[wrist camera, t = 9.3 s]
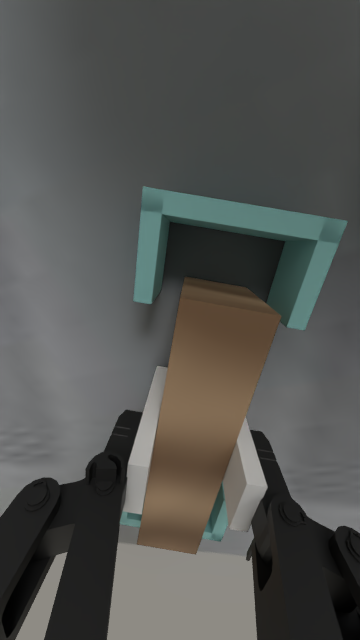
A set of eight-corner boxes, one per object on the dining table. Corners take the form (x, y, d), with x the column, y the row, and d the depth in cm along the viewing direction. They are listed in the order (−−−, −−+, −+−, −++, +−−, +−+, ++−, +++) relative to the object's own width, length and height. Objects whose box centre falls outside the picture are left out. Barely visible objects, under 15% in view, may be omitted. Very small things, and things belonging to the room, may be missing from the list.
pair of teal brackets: (156, 201, 11) (142, 186, 8) (306, 227, 11) (347, 220, 8) (127, 478, 18) (114, 523, 15) (216, 494, 18) (220, 541, 15)
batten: (184, 276, 12) (180, 297, 7) (246, 287, 12) (281, 316, 7) (152, 461, 17) (137, 544, 12) (194, 468, 17) (195, 554, 12)
